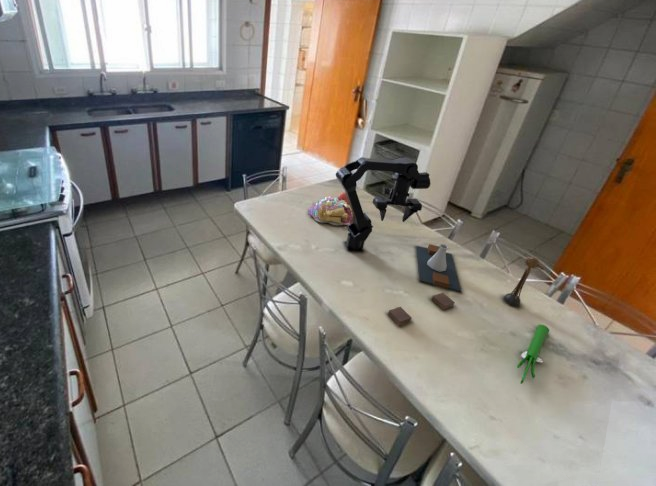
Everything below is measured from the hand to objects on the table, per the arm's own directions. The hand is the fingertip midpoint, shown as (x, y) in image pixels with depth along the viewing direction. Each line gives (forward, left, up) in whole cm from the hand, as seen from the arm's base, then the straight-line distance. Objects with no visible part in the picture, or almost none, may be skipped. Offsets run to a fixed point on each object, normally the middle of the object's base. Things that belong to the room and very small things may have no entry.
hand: (392, 221), depth 140 cm
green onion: (+25, -54, -13) cm, 61 cm away
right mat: (+16, -14, -13) cm, 25 cm away
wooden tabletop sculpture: (+35, -32, -13) cm, 49 cm away
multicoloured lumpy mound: (-19, +26, -13) cm, 35 cm away
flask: (+16, -14, -12) cm, 24 cm away
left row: (-1, -37, -13) cm, 39 cm away
